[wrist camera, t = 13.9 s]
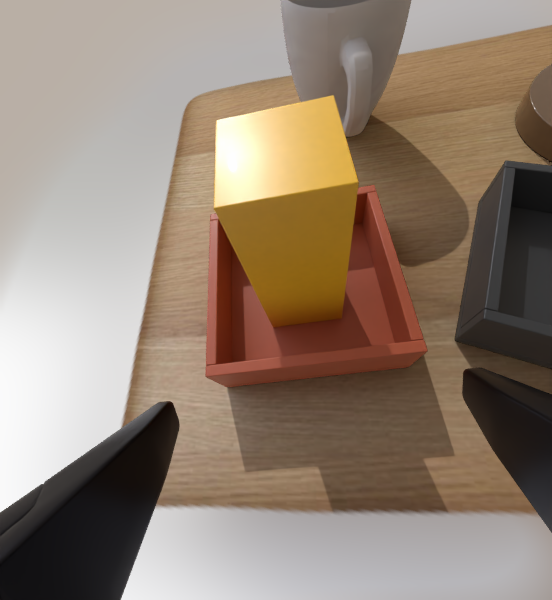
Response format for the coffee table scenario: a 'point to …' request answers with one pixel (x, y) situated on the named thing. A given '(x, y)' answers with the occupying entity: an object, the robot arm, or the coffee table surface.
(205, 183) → the coffee table surface
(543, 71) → the tall lamp
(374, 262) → the bin left
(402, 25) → the mug
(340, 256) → the yellow box
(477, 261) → the bin right
